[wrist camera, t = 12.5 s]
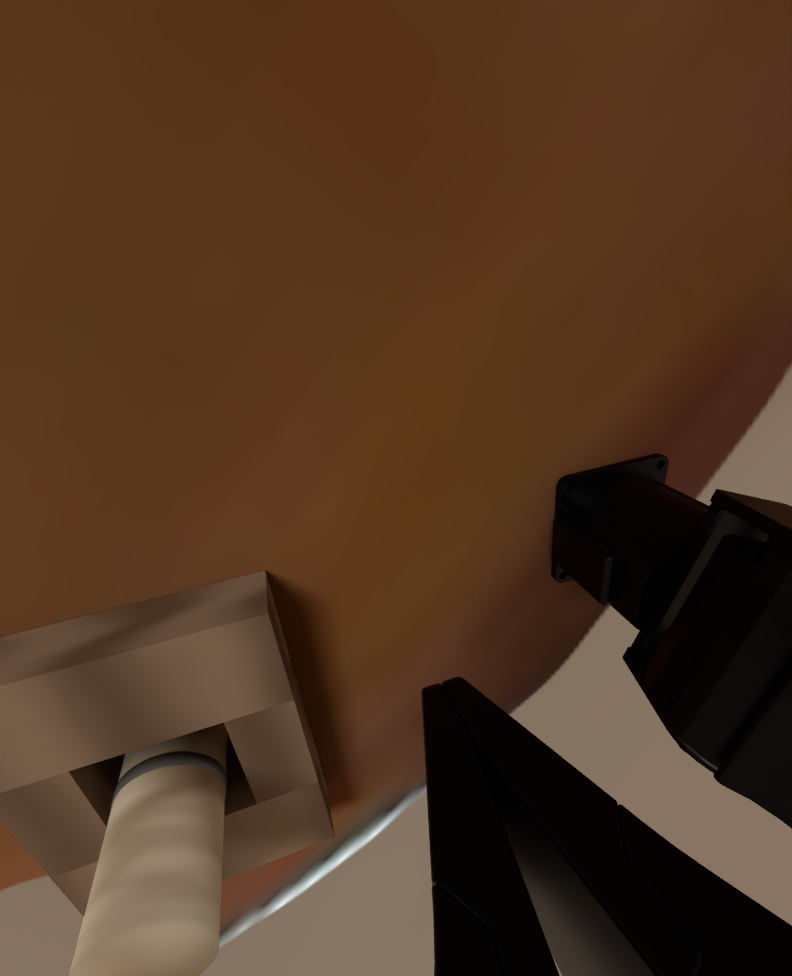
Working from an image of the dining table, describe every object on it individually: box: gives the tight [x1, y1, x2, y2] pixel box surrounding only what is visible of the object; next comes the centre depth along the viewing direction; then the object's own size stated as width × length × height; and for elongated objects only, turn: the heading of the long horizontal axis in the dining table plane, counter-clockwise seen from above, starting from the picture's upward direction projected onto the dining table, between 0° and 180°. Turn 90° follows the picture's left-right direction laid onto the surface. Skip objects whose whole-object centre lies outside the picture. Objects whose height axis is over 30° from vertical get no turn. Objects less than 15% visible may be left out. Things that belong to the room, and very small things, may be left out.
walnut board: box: [0, 571, 335, 916], centre depth 21 cm, size 12×16×3 cm
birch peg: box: [69, 722, 228, 976], centre depth 19 cm, size 4×4×9 cm
